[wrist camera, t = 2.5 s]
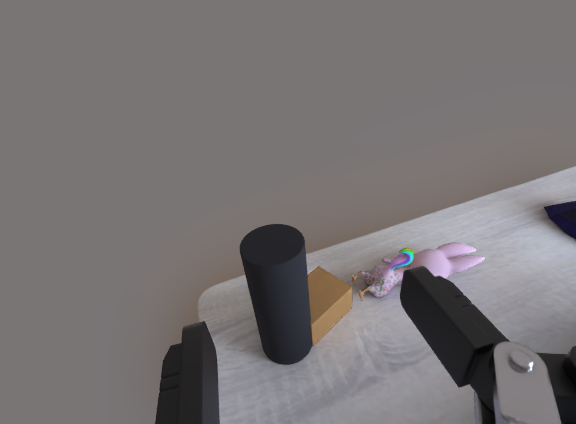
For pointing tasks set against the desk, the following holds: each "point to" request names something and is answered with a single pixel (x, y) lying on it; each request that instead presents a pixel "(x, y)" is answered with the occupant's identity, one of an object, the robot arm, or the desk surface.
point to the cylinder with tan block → (290, 293)
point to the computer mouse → (564, 216)
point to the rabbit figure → (432, 259)
